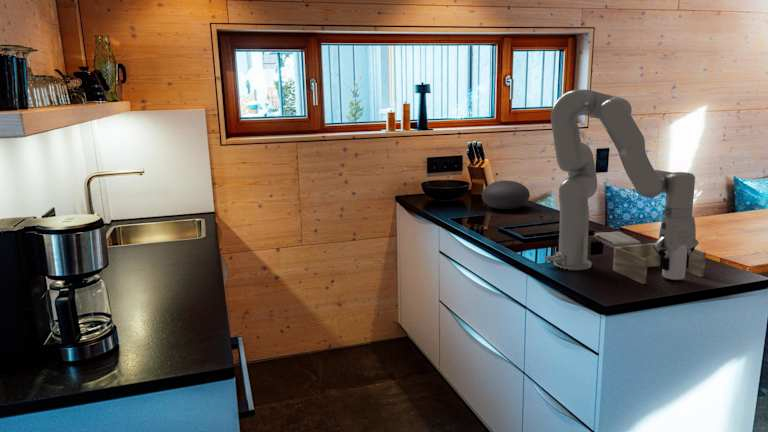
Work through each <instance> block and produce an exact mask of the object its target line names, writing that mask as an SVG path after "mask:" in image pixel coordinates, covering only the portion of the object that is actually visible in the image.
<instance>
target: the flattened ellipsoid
mask: <svg viewBox="0 0 768 432" xmlns="http://www.w3.org/2000/svg"><path fill="white" fill-rule="evenodd" d="M530 196H531V194H530V191H529V189H528V188H527V187H526V186H525V185H524V184H523V183H520V182H517V181H514V180H505V179H504V180H497V181H494V182H492V183H490V184H488V185H487V186H486V187H484V189H483V190H482V192H481V198H482V199H481V200H482V201H483V202H484V203H485V204H486V205H488V206H489V207H490V208H494V209H497V210H501V209H510V210H515V209H518V208H520V207H523V206H524V205H525V204H527V203H528V202H529V200H530Z"/></svg>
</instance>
